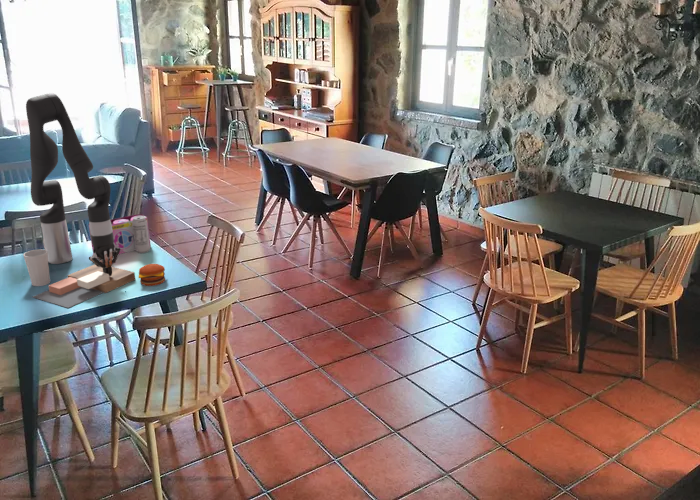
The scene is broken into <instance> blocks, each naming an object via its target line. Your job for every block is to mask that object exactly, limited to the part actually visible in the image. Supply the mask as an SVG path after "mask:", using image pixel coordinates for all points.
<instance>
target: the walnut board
mask: <svg viewBox="0 0 700 500" xmlns="http://www.w3.org/2000/svg"><path fill="white" fill-rule="evenodd" d="M111 267H112V275H111V276H109V279H110V281H107V282H105V283H102V284H100V285H97V286H95V287H93V288H92V289H96V290H99V291H103V292H104V293H103V294H107V293H109V292H111V291H113V290H115V289H118V288H120V287H122V286H124V285H126V284H129V283H131V282H133V281H136V273H135V272H134V271H131V270H126V269H122V268H119V267H115V266H111ZM97 271H100V272H103V268H101V267H98V266H96V265H95V264H92V265H89V266H87V267H85V268H83V269H79V270H77V271H74V272H72V273H70V274H68V275H67V278H69V277H72V278H76V279H79V278H81V277H84V276H86V275H89V274H92V273H94V272H97Z"/></svg>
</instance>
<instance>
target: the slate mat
mask: <svg viewBox="0 0 700 500" xmlns="http://www.w3.org/2000/svg"><path fill="white" fill-rule="evenodd" d="M101 294H105V293H104V292H103V291H99V290H96V289H92V288H90V289H86V288H83V287H79V288H76V289H74V290H71V291H69V292H67V293H64V294H62V295H59V294H55V293H52V292H50V291H49V289H48V290H45V291H43V292H40V293H38V294H35V295H33V296H32V298H33V299H36V300H40V301H41V302H42V301H43V302H46V303H48V304H52V305H56V306H59V307H62V308H65V309H71V308H72V307H74V306H77V305H79V304H81V303H83V302H86V301H88V300H90V299H92V298H94V297H98V296H99V295H101Z"/></svg>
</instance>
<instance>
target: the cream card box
mask: <svg viewBox="0 0 700 500" xmlns="http://www.w3.org/2000/svg"><path fill="white" fill-rule="evenodd" d="M107 281H110V279H109V274H106V273H103V272H100V271H97V272H94V273H92V274H89V275H86V276H84V277H81V278H79V279H77V284H78V286H80V287H83V288H86V289H90V288H93V287H95V286H97V285H100V284H102V283H105V282H107Z"/></svg>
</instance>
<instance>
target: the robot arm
mask: <svg viewBox="0 0 700 500" xmlns="http://www.w3.org/2000/svg"><path fill="white" fill-rule="evenodd" d="M25 103H26V104H25V110H26V116H27V117H26V118H27V124H28V129H29V144H30V146H29V156H30V157H29V158H30V166H31V168H30V169H31V177H30V178H31V179H30V197H31V200H32V202H33V205H35V206H38V207H42V206H43V207H44V206H48V205H52V206H51V207H50V208H49V209H47V210H45V211H44V212H42V213H40V215H39V220H40V226H41V231H42V236H43V238H42V242H43V243H42V244H43V247H44V248H43V250H47V253H48V264H51V265H52V264H53V265H60V264H65V263H68V262H71V261H72V260H73V253H72V248H71V247H72V246H71V241H70V240H71V239H70V237H69V231H68V225H67V220H66V214H65V206H64V198H63V197H64V196H63V190H62V185H61V184H60V182H59V181H58V180H56V179H55V180H46V179H47V178H48V177H49V175H50V174H51V173H52V172H53V170H55V169H56V167H57V165H58V163H59V149H58V145H57V143H56V142H55V141H54V140H53V138H51V137H50V135H48V134H47V133H46V132H45V130H44V126H45V125H46V124H47V123H52V122H55V121H57V122H58V124H59V126H60V129H61V132H62V147H61V150H62V155H63V157H64V160H65V161H66V163H67V165H68V166H69V168H70V169H71V171H72V173H73V177H74V180H75V183H76V186H77V190H78V192H79V194H80V195H81V197H83V198H84V199H85V200H93V202H92V203H90V204H89V205H88V206H87V216H88V221H89V223H88V229H89V228H90V231H89V235H90V234H91V237H90V241H91V240H92V243H91V246H92V245H93V247H94V250H93V249H92V255H91V256H89V257H88V260H90V262H91V263H92V264H93V265H96V266H98V267H101V268H103V273H106V274H109V276H111V275H112V267H113V264H116V261H117V260H118V257H119V255H120V254H119V252H120V248H117V247H115V245H114V244H113V243H114V237H113V230H112V224H111V221H110V220H111V217H110V211H109V205H110V199H111V189H112V188H111V184H110V181H109V180H108V179H107V177H105V176H104V175H97V176H93V177H90V176H89V173H90V172H91V171H92V170H93V168H94V165H93V163H92V161H91V159H90V157H89V156H88V154H87V152H86V151H85V149H84V147H83V146H82V143H81V142H80V140H79V137H78V135H77V133H76V130H75V128H74V126H73V125H74V124H73V123H72V120H71V119H70V116H69V113H68V111H67V109H66V107H65V105H64V103H63V102H62V99H61V98H60V97H59V95H57V94H56V93H53V92H49V93H46V94H45V93H44V94H41V95H38V96H33V97H31V98H28V99H27V100H26V102H25ZM45 180H46V181H45ZM93 253H94V254H93Z"/></svg>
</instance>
